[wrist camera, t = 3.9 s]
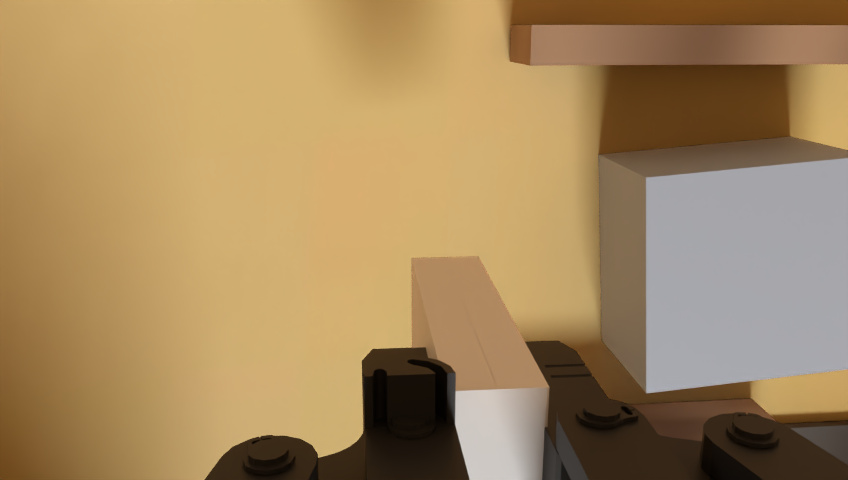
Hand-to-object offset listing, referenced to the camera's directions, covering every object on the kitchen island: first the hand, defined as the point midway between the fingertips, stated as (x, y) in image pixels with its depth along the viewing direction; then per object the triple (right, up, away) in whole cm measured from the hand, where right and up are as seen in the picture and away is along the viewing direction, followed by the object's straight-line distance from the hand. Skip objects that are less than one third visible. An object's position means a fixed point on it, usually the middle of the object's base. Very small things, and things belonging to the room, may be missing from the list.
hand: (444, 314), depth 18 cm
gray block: (+8, +2, +7) cm, 11 cm away
